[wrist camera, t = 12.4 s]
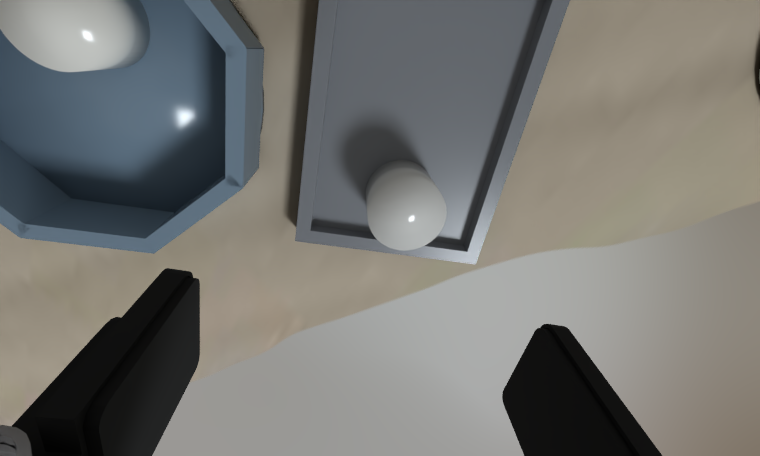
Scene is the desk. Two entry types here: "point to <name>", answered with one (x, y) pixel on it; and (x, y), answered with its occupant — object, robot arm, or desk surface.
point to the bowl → (133, 133)
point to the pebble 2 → (404, 206)
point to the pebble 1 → (77, 32)
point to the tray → (419, 110)
